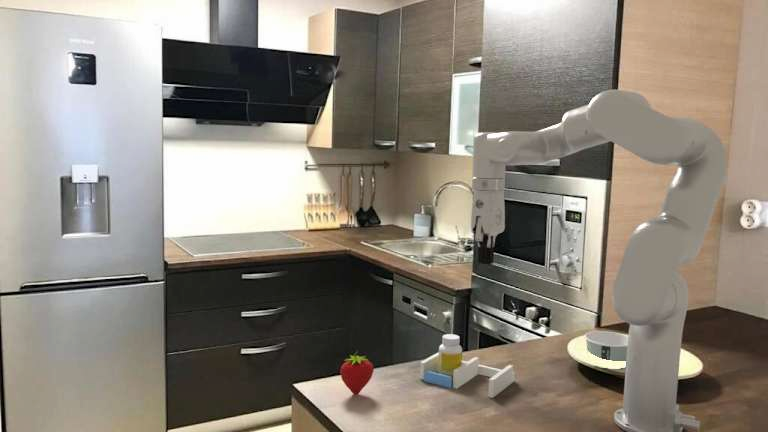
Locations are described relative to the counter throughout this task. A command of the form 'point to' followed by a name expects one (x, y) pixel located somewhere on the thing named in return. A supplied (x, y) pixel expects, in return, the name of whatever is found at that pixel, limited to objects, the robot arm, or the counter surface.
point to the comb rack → (466, 374)
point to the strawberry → (356, 373)
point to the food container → (607, 345)
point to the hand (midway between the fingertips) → (485, 263)
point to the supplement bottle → (449, 355)
